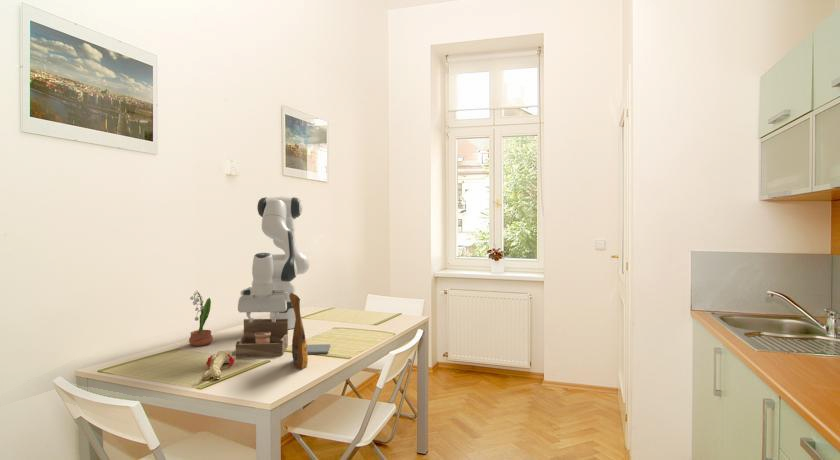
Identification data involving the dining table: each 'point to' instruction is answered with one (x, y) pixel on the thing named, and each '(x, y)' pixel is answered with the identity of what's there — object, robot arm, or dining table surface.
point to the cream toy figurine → (218, 364)
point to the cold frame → (274, 348)
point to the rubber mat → (318, 348)
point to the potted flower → (201, 324)
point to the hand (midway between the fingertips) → (262, 322)
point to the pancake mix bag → (298, 336)
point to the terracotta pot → (262, 337)
